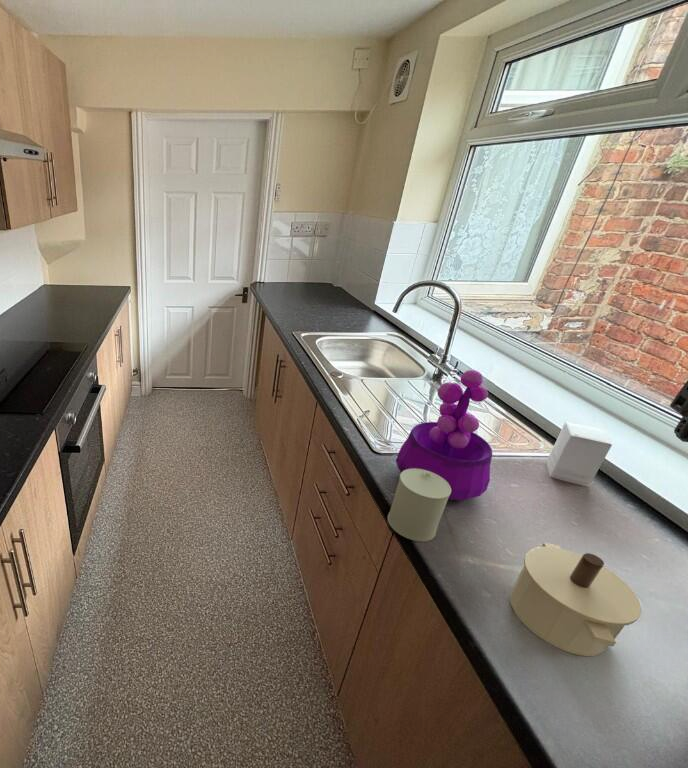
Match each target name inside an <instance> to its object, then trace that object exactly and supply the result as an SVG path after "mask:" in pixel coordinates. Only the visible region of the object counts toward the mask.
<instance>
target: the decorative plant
mask: <svg viewBox="0 0 688 768" xmlns="http://www.w3.org/2000/svg"><path fill="white" fill-rule="evenodd" d="M483 382H484V379H483V374H482V373H481V372H480V371H478V370H476V369H469V370H465V372H463V373H462V374H461V375H460V383H461V384H462V386H465V387H466V388H465V390H463V387H462V386H461V385H460V384H459V383H458V382H451V381H447V382H444V383H442V384H441V385H440V386H439V387H438V389H437V397H438V398H439V400H440V401H442V403H441V404H440V406H439V415H440V416H439V417H438V418H437V421H427V422H426V421H425V422H420V423H418V424H416V425H414V426H413V427H412V428H411V430H410V432H409V434H408V436H407V438H406V440H405V441H404V442H403V443H402V444H401V446H400V449H399V452H398V453H397V457H396V459H395V463H396V466H397V469H398V470H399V472H400V474H401V473H402V472H403V471H404V470H406V469H412V468H416V469H423V470H427V471H430V472H433V473H435V474H437V475H439V476H440V477H442V478H443V479H445V480H446V481H447V482H448V484H449V485H450V487H451V494H450V496H449V498H448V500H447V501H449V500H450V501H464V500H469V499H473V498H477V497H480V496H481V495H483V494H484V493H485V492H486V491H487V490H488V487H489V484H490V477H491V464H492V463H491V462H492V458H493V449H492V446H491V445H490V444H489V442H488V441H487V440H486V439H484V438H483V437H481V436H480V435H478V434H477V433H475V432H476V431H477V430H478V429H479V428H480V422H479V419H478V418H477V417H476V416H475V415H474V414H472V413H468V408H469V405H470V400H471V401H473V402H475V403H480V402H481V403H482V402H483V401H484V400H487V398H488V396H489V391H488V389H487V388H486V387H484V386H482V384H483ZM456 403H457V404H456Z"/></svg>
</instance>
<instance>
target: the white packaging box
mask: <svg viewBox="0 0 688 768" xmlns="http://www.w3.org/2000/svg"><path fill="white" fill-rule="evenodd" d="M612 446H613V443H612V441H611V440H610V438H609V436H608V434H607V432H606V430H605V429H601V428H596V427H593V426H588V425H582V424H578V423H573V422H567V421H565V422H564V424H563V426H562V427H561V430H560V432H559V434H558V437H557V439H556V441H555V442H554V445H553V447H552V449H551V451H550V453H549V455H548V457H547V459H546V461H545V463H546V468H547V472H548V474H549V475H548V476H549V477H550V478H552V479H556V480H559V481H564V482H567V483H571V484H574V485H579V486H583V487H587V488H589V487H590V486H591V484H592V482H593V480H594V479H595V476H596V475H597V473H598V471H599V469H601V466H602V464H603V462H604V460H605V459H606V457H607V455H608V453H609V452H610V450H611V448H612Z"/></svg>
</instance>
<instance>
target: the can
mask: <svg viewBox="0 0 688 768" xmlns="http://www.w3.org/2000/svg"><path fill="white" fill-rule="evenodd" d="M450 494H451V487H450V485H449V484H448V482H447V481H446V480H445V479H443V478H442V477H440V476H439V475H437V474H435V473H433V472H430V471H427V470H423V469H416V468H412V469H406V470H404V471H403V472H402V473H401V472H400V474H399V479H398V484H397V486H396V489H395V493H394V497H393V500H392V504H391V507H390V510H389V512H388V515H387V523H388V525H389V526H390V528H392V530H393V531H394V532H395V533H397V534H398V535H400V536H401V537H404V538H406V539H408V540H411V541H414V542H429V541H432V540H433V539H434V538H436V535H437V531H438V527H439V525H440V521H441V519H442V516H443V513H444V511H445V508H446V505H447V503H448V501H449V500H448V498H449V496H450Z"/></svg>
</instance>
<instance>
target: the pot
mask: <svg viewBox="0 0 688 768" xmlns="http://www.w3.org/2000/svg"><path fill="white" fill-rule="evenodd" d="M541 547H555V548H561V549H562V547H561V545H557V544H552V543H548V542H543V543H542V545H541ZM509 601H510V605H511V608H512V609H513V611H514V613H515V615H516V616H517V617H518V619H519V620H520V621H521V623H523V624H524V626H526V627H527V628H528V629H529V630H530V631H531V632H532V633H534V634H535V635H536V636H537V637H539V638H540V639H542V640H543V641H544V642H545V643H548V644H550V646H551V645H552V646H553V647H555V648H557V649H560V650H561V651H565V652H567V653H570V654H573V655H576V656H583V657H595V656H599V655H601V654H602V653H604V652H605V651H606V650H607V649H608V648H609V647H614V646H615V645H616V643H617V640H616V638H617V637H618V635H619V634H620V633H621V632H622V630H623V629H624V627H625V626H612V625H606V624H601V623H598V622H594V621H591V620H589V619H586V618H583V617H581V616H579V615H577V614H575V613H573V612H571V611H569V610H567V609H565V608H564V607H562V606H560V605H559V604H557V603H556V602H554V601H553V600H552V599H550V598H549V597H548V596H546V595H545V594H544V593H543V592H542V591H541V590H540V589H539V588H538V587H537V586H536V585H535V584H534V583H533V582H532V580H531V579H530V578H529V576H528V574H527V572H526V570H525V567H524V566H523V567H522V569H521V571H520V573H519V574H518V577H517V579H516V580H515V582H514V584H513V586H512V588H511V591H510V595H509Z"/></svg>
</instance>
